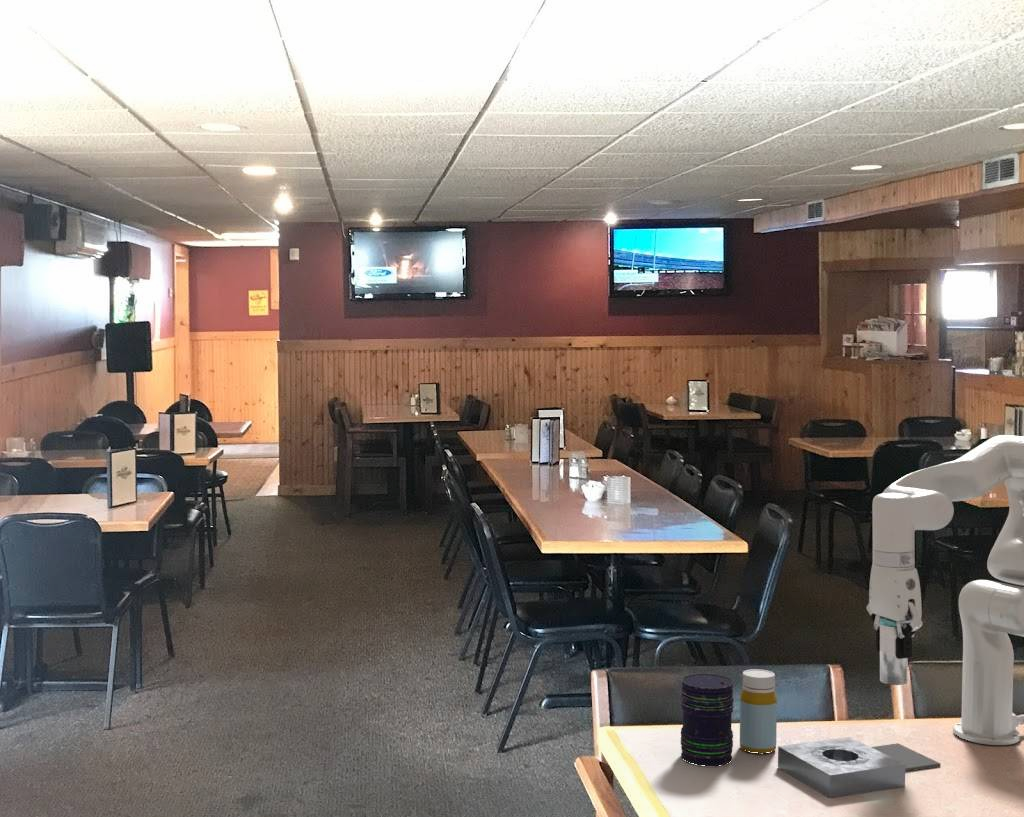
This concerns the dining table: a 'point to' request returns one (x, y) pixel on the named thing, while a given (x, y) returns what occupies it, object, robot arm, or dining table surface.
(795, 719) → the dining table surface
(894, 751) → the mat
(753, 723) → the bottle
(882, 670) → the plug
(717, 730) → the storage jar
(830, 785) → the housing
